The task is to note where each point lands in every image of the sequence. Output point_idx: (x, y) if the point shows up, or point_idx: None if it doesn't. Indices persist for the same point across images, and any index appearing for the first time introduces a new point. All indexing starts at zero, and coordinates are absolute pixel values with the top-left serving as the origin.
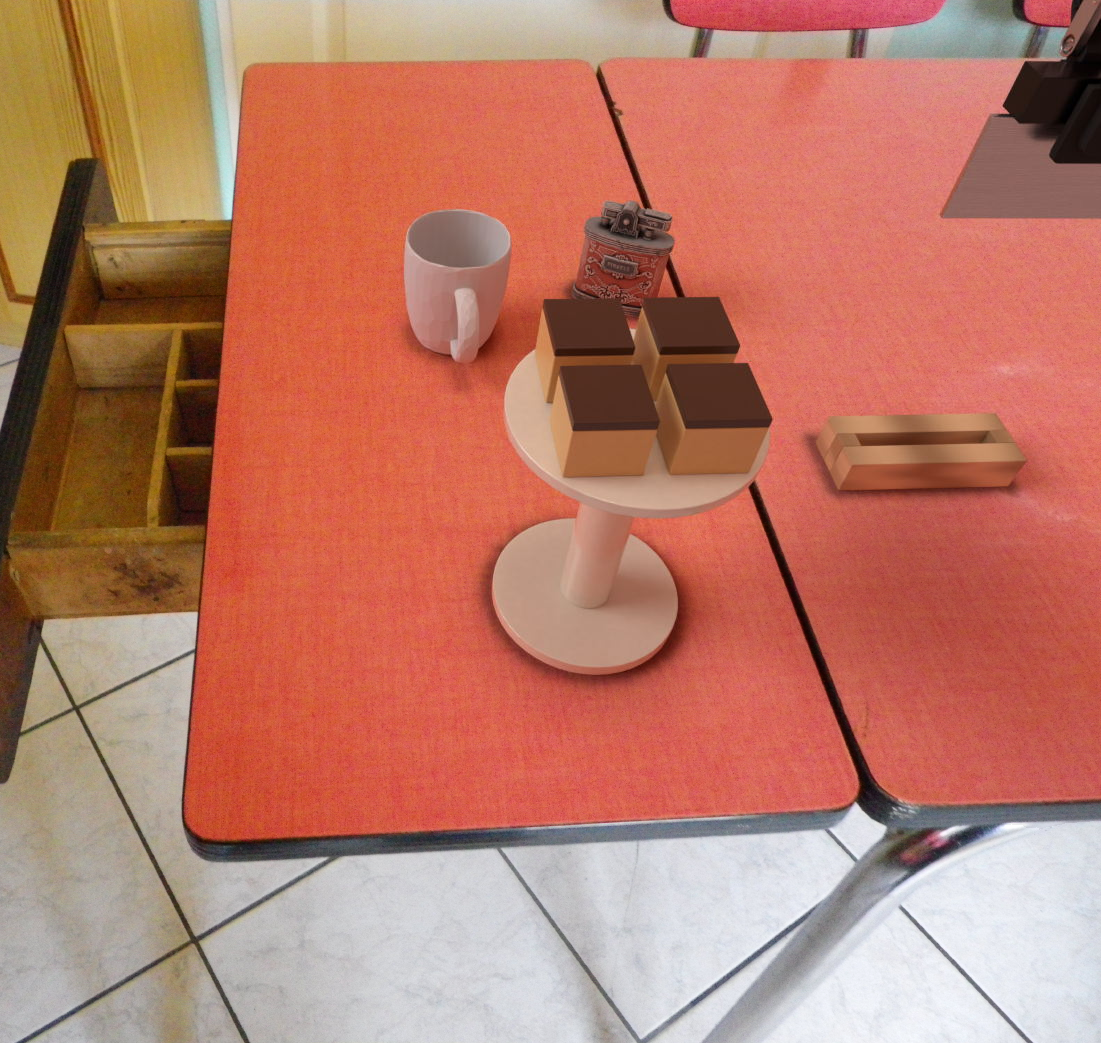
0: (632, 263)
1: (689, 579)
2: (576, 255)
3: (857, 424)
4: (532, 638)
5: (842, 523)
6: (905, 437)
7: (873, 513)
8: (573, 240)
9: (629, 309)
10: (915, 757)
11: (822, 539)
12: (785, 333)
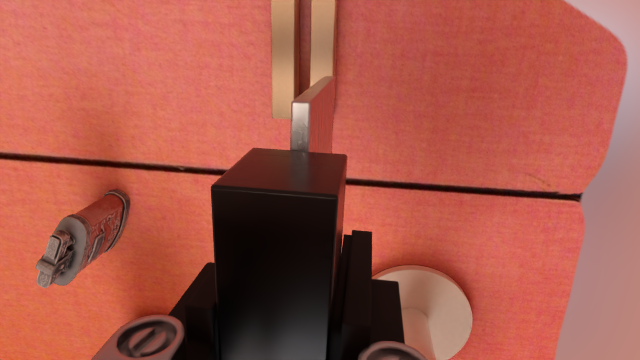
0: (96, 242)
1: (405, 250)
2: (52, 232)
3: (283, 96)
4: (444, 357)
5: (367, 125)
6: (295, 51)
7: (359, 95)
8: (31, 230)
9: (124, 216)
10: (573, 159)
11: (381, 147)
12: (138, 85)
